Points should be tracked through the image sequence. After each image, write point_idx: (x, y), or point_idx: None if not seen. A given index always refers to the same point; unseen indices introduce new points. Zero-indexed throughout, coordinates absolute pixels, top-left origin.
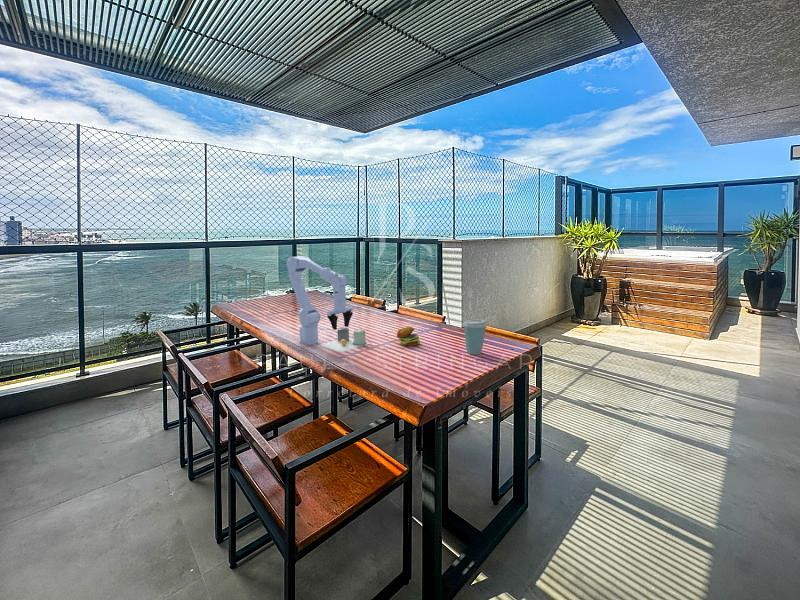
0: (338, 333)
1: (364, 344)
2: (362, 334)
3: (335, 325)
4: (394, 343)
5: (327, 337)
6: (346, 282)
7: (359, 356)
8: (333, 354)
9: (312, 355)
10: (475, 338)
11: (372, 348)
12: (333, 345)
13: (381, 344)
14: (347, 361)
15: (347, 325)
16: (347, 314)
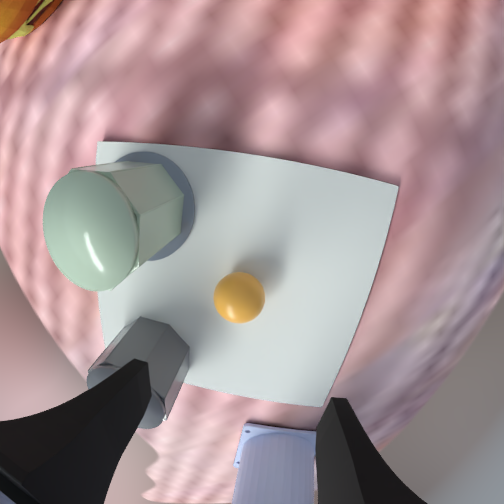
0: (172, 398)
1: (149, 152)
2: (108, 170)
3: (368, 438)
4: (49, 47)
5: (168, 430)
6: None
7: (388, 34)
8: (436, 226)
9: (471, 321)
10: None
11: (181, 57)
12: (285, 341)
13: (83, 81)
14: (486, 69)
15: (141, 373)
16: (64, 488)
